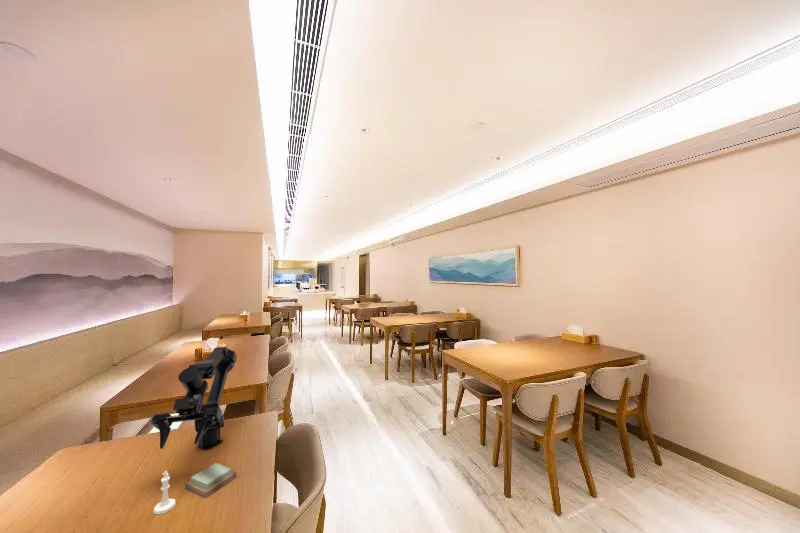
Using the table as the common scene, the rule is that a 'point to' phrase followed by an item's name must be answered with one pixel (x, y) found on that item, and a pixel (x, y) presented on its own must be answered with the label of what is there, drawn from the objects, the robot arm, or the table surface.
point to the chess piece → (164, 497)
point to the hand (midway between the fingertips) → (178, 446)
